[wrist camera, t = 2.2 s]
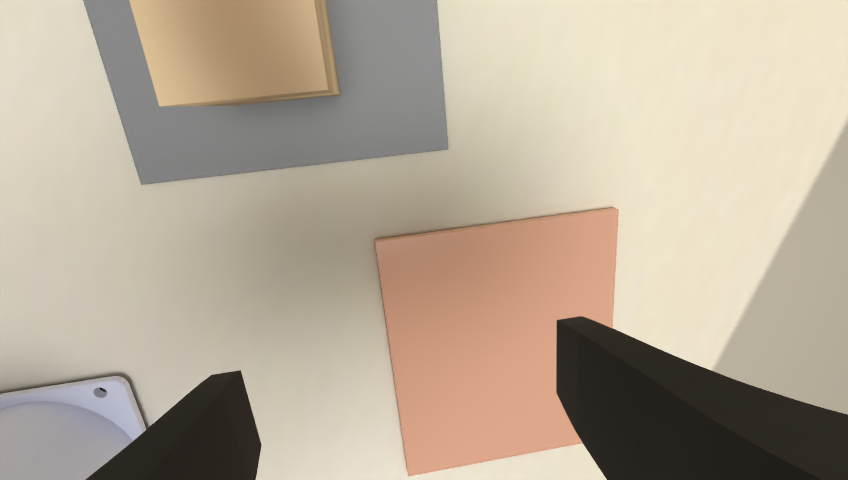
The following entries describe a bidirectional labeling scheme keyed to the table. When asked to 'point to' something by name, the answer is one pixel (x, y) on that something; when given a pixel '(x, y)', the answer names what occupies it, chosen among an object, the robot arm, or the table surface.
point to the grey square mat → (292, 119)
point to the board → (490, 331)
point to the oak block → (237, 50)
